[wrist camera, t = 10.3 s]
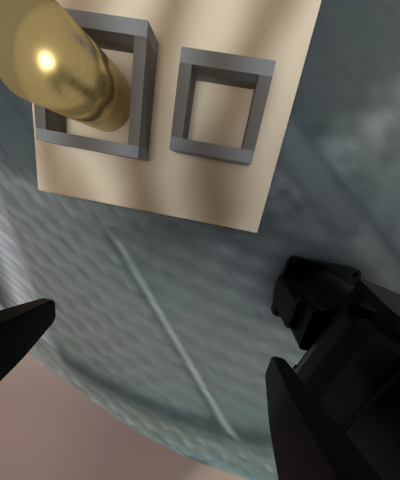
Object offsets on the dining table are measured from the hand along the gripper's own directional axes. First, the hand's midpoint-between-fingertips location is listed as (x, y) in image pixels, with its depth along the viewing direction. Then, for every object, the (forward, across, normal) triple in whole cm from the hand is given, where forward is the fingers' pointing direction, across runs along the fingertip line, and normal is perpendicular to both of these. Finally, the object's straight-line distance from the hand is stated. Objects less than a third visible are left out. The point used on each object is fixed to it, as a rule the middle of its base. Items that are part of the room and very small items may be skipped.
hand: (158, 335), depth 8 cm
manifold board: (+12, +5, -11) cm, 17 cm away
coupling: (+10, +9, -10) cm, 17 cm away
